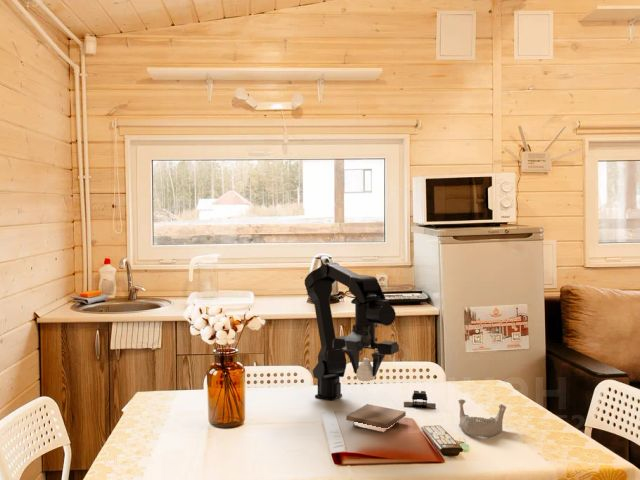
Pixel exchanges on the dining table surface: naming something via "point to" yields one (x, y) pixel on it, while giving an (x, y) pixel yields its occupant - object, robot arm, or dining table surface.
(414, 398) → the build plate
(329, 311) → the robot arm
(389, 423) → the walnut stand
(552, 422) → the dining table surface
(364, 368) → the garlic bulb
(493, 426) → the anatomical model
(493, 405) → the dining table surface
